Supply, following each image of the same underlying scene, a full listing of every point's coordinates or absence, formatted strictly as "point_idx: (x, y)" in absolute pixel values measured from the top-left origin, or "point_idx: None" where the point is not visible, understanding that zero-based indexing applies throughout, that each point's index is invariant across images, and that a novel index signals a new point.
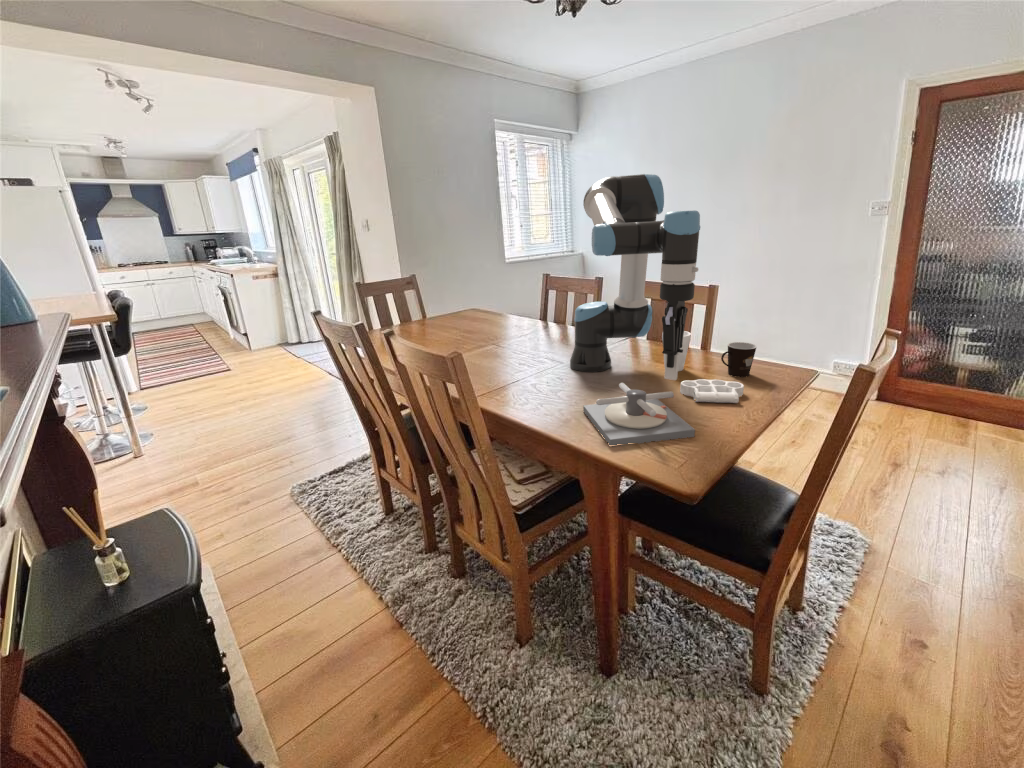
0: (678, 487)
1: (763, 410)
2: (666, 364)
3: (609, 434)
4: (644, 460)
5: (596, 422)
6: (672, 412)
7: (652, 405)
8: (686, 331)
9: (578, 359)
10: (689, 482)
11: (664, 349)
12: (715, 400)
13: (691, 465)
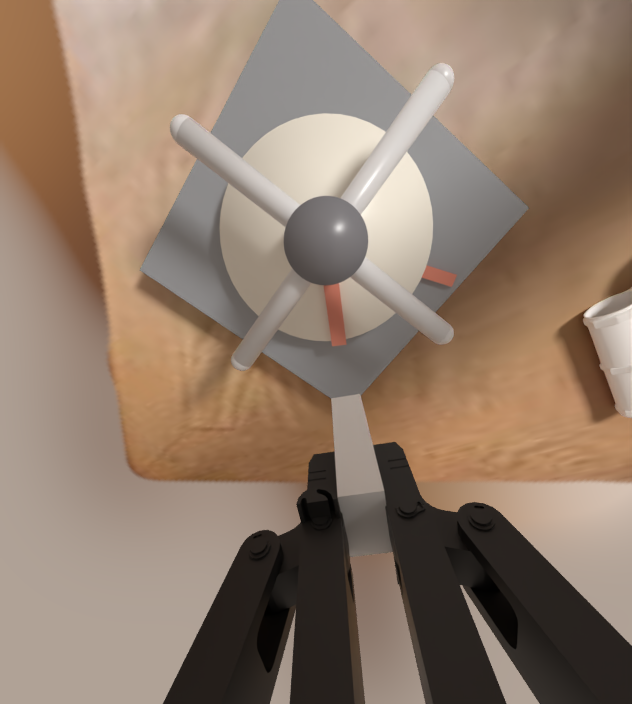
0: (134, 454)
1: (591, 462)
2: (336, 448)
3: (162, 249)
4: (165, 366)
5: None
6: None
7: (414, 258)
8: None
9: None
10: (163, 461)
11: (233, 576)
12: (602, 365)
13: (220, 442)
